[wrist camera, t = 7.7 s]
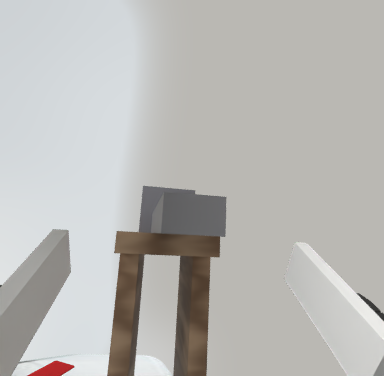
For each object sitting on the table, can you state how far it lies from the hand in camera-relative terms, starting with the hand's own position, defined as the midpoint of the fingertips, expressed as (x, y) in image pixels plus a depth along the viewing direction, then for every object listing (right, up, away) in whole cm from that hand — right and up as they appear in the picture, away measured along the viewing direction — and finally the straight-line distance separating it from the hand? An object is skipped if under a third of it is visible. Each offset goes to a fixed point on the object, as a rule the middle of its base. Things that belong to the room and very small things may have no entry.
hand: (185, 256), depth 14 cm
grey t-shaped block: (-2, -1, +13) cm, 13 cm away
